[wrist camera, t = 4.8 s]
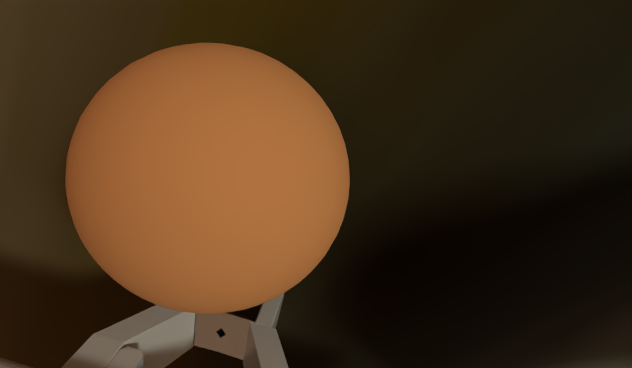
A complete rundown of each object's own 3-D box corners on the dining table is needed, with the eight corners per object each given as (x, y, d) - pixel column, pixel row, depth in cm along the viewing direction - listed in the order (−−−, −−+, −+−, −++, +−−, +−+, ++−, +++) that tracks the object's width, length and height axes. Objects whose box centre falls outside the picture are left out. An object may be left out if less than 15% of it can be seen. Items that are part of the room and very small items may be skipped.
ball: (178, 20, 8) (-97, -13, 3) (379, 71, 8) (397, 116, 3) (172, 198, 11) (3, 331, 6) (328, 241, 11) (294, 419, 6)
